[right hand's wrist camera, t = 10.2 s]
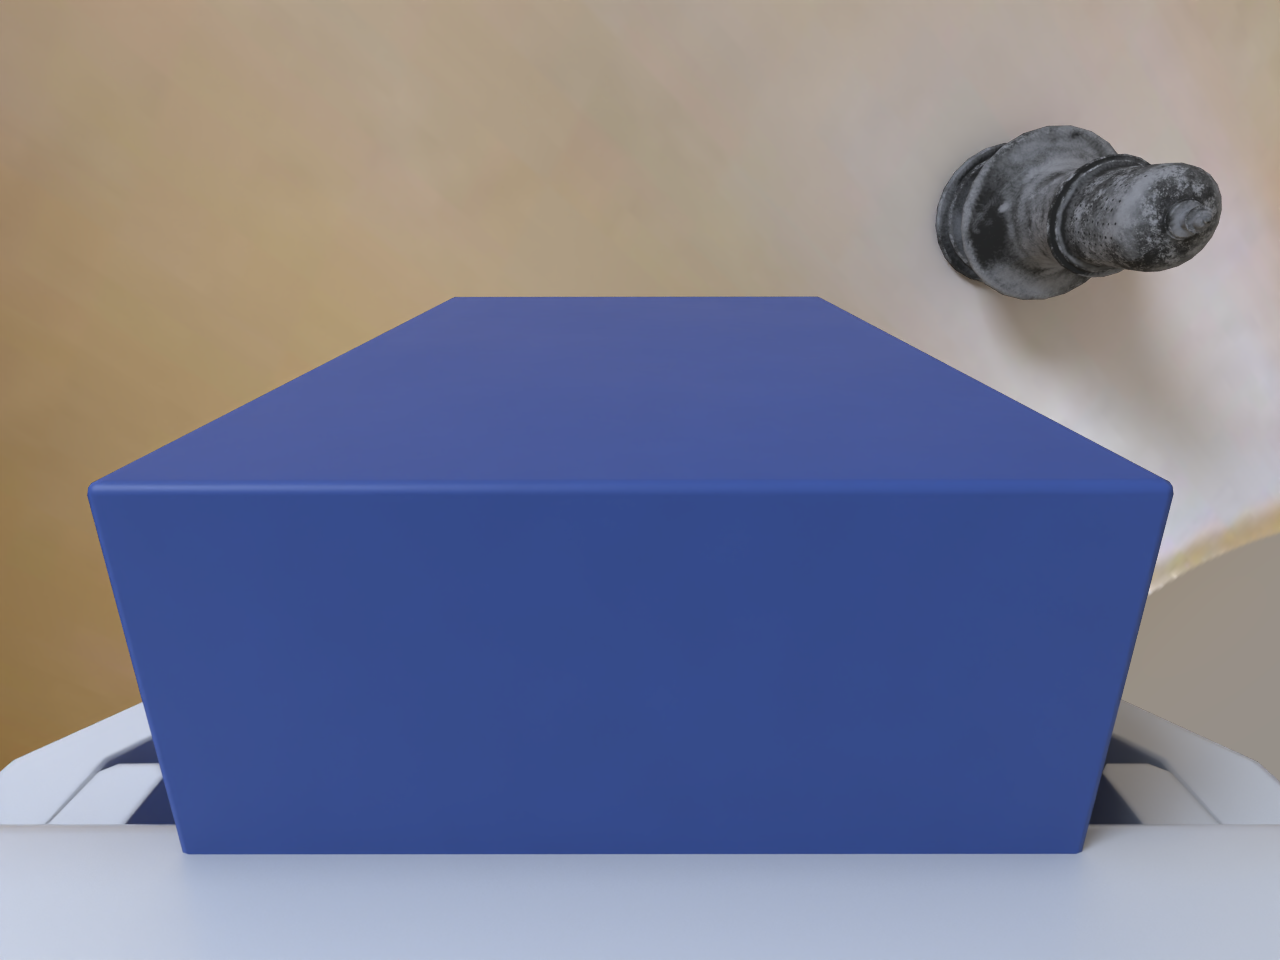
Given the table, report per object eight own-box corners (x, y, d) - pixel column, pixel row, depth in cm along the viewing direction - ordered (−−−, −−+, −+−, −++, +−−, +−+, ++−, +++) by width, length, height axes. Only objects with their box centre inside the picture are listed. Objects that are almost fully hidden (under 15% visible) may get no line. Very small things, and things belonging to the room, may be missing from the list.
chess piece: (1109, 197, 30) (1383, 192, 19) (1002, 319, 32) (1195, 380, 21) (1003, 100, 29) (1227, 33, 18) (897, 231, 31) (1040, 245, 19)
